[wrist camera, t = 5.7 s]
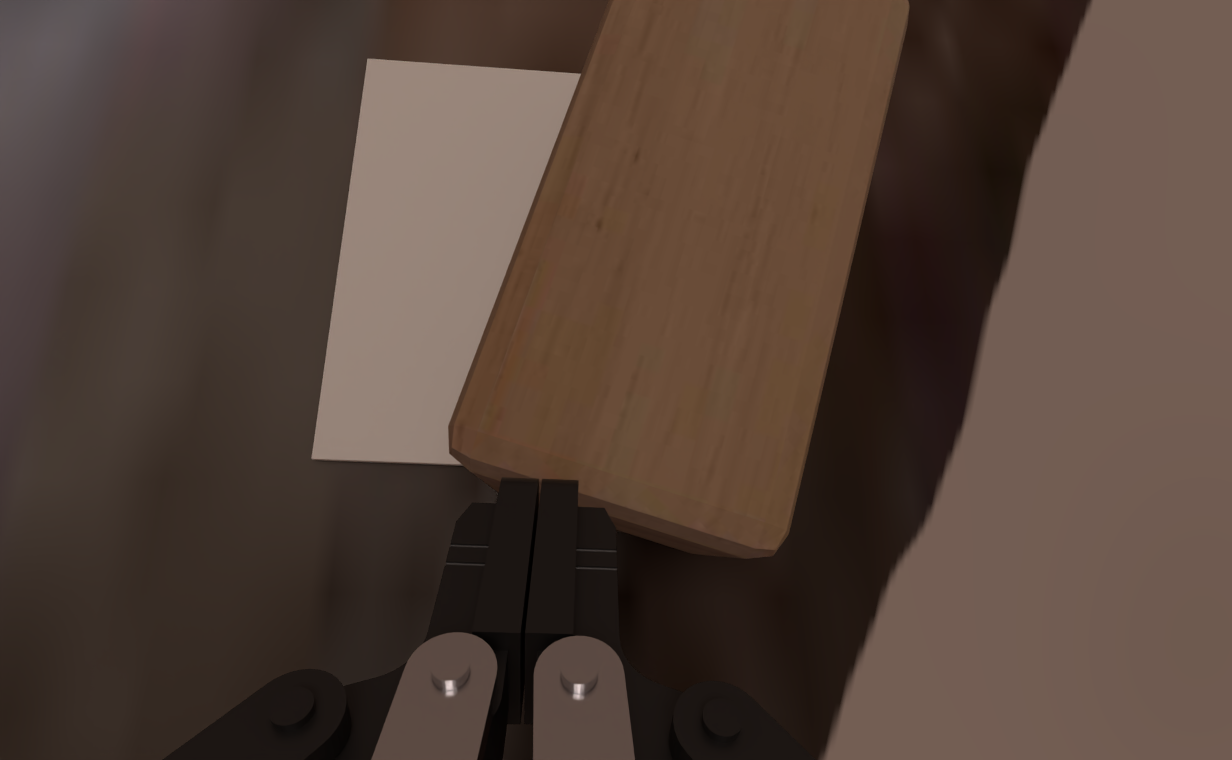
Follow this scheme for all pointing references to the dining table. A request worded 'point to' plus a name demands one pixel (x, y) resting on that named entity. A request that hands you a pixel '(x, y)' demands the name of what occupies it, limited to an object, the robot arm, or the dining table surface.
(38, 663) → the dining table surface
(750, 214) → the wooden block
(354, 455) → the pale grey mat
